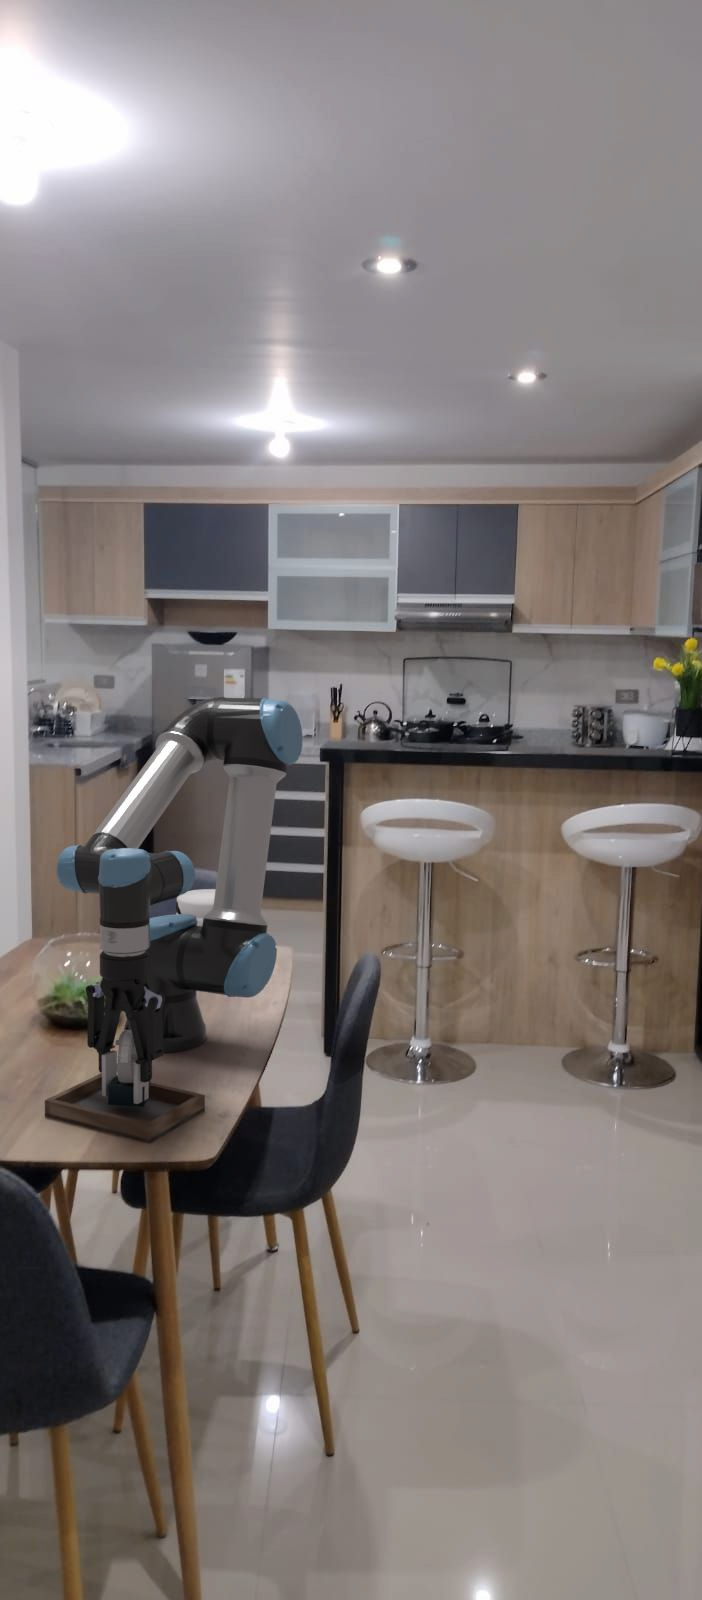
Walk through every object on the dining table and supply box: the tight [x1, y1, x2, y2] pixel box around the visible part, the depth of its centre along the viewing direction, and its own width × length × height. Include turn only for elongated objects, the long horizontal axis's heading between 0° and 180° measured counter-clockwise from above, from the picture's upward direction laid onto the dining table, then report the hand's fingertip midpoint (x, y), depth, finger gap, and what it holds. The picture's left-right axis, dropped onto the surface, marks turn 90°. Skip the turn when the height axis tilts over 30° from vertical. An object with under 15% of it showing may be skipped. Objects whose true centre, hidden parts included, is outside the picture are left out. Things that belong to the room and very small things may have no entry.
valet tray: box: [44, 1072, 206, 1144], centre depth 175 cm, size 14×20×3 cm
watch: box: [108, 1030, 151, 1107], centre depth 174 cm, size 6×8×11 cm
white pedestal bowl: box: [175, 888, 216, 926], centre depth 253 cm, size 17×17×18 cm
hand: (125, 1096), depth 174 cm, fingers closed on watch, 5 cm apart
